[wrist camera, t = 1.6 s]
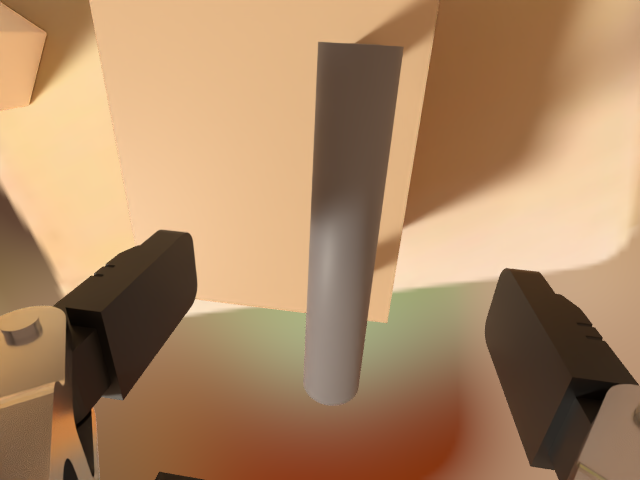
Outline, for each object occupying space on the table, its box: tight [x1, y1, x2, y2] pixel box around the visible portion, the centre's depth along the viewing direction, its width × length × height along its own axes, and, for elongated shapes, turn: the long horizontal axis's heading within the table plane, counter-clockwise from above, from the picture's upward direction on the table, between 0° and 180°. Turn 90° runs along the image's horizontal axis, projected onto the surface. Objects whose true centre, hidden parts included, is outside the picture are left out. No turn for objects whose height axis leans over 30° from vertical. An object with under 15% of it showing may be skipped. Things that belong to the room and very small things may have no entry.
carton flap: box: [89, 0, 440, 405], centre depth 15 cm, size 16×14×9 cm
